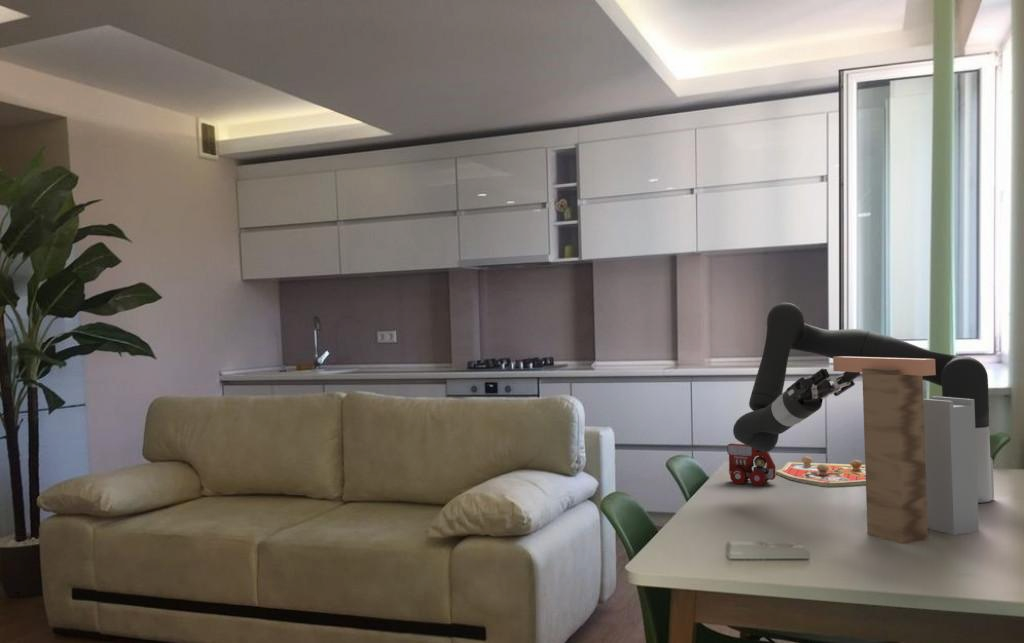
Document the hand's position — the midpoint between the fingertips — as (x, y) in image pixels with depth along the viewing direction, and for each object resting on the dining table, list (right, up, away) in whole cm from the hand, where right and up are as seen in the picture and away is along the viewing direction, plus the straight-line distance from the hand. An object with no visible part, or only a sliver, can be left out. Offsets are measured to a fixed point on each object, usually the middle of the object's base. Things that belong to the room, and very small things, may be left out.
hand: (842, 371), depth 164 cm
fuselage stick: (+4, 0, -9) cm, 10 cm away
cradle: (+18, -31, -7) cm, 37 cm away
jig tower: (+6, -32, -12) cm, 34 cm away
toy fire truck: (-6, -33, +43) cm, 54 cm away
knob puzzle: (+18, -33, +48) cm, 61 cm away
